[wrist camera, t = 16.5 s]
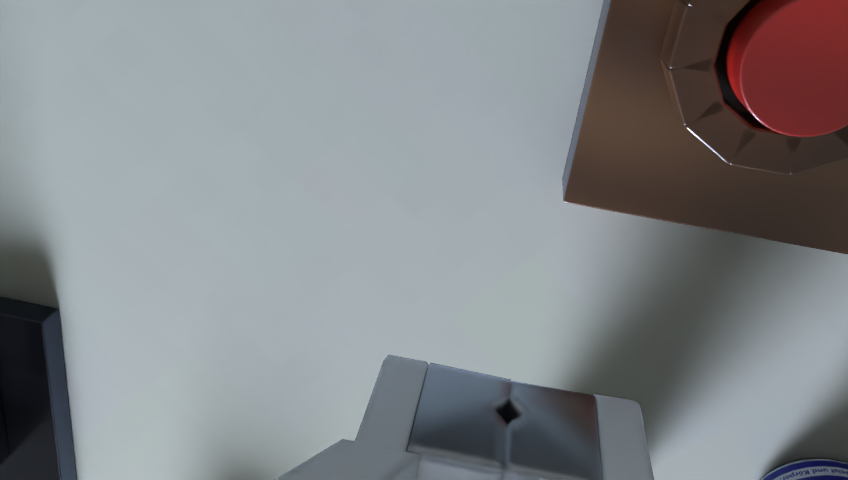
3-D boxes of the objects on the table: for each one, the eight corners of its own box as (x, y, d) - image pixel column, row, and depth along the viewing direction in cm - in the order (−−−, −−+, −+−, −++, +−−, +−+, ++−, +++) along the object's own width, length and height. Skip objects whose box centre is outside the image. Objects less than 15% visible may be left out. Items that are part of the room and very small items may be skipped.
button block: (653, -212, 21) (674, -235, 17) (1022, -162, 20) (1126, -175, 16) (561, 179, 26) (563, 225, 22) (850, 231, 25) (899, 287, 22)
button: (749, -27, 19) (767, -20, 18) (892, -5, 19) (923, 4, 17) (707, 107, 21) (720, 124, 19) (838, 129, 20) (862, 148, 19)
